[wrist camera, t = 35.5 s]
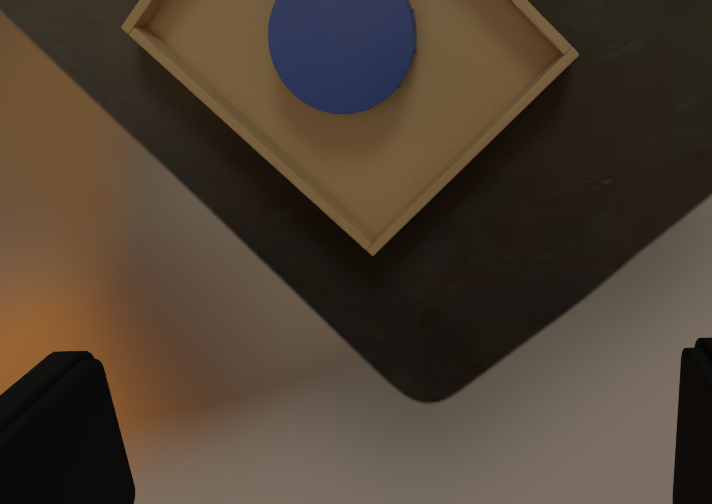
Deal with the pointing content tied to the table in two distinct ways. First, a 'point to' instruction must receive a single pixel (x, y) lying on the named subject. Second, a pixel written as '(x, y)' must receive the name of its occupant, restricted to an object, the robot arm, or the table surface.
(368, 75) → the lid
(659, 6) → the table surface
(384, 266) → the table surface
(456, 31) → the tray
